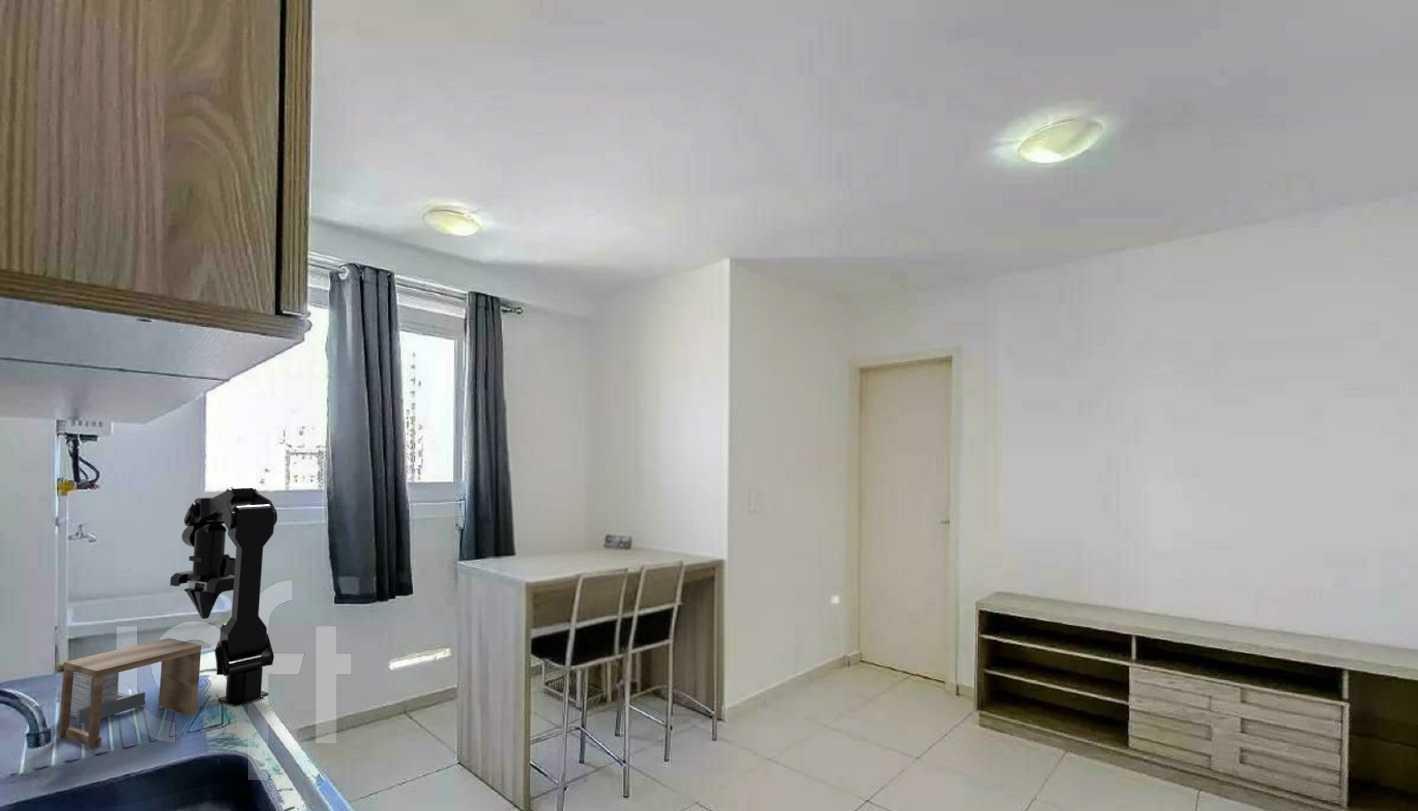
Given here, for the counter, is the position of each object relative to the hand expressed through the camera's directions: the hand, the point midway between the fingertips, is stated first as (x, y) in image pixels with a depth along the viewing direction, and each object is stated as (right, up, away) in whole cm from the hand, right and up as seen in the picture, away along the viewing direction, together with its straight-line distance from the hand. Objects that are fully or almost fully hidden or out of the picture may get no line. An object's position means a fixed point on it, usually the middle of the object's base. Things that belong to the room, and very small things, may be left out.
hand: (205, 618), depth 148 cm
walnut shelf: (+10, -10, -30) cm, 33 cm away
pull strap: (-7, -10, -21) cm, 24 cm away
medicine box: (-2, -11, -25) cm, 27 cm away
